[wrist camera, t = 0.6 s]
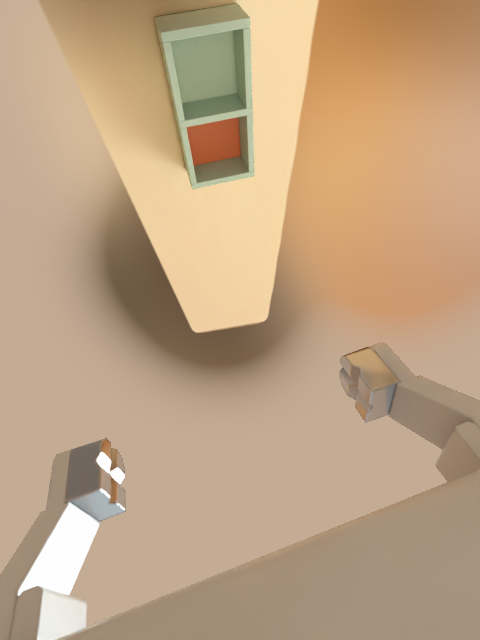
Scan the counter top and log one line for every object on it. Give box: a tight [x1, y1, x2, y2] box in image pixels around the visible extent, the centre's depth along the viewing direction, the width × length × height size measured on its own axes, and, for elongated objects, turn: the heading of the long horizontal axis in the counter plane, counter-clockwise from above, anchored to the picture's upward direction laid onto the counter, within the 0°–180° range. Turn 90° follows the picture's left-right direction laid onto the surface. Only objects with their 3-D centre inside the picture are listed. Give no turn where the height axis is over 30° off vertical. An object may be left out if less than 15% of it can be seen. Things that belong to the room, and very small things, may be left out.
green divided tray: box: [155, 4, 254, 189], centre depth 42 cm, size 18×9×5 cm, turn 4°
